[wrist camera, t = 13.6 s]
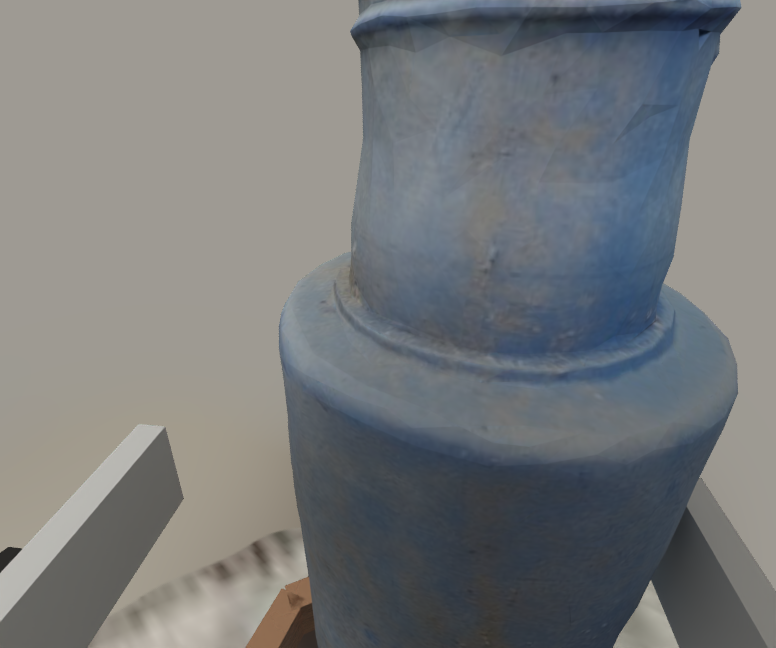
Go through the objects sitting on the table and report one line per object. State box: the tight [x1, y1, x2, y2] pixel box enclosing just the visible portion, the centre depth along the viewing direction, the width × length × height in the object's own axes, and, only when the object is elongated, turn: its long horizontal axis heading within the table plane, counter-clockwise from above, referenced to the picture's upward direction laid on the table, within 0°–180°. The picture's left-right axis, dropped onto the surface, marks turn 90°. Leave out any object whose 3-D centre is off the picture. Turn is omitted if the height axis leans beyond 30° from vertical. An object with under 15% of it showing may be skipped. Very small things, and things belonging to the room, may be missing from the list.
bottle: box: [279, 0, 741, 648], centre depth 14 cm, size 10×10×30 cm
